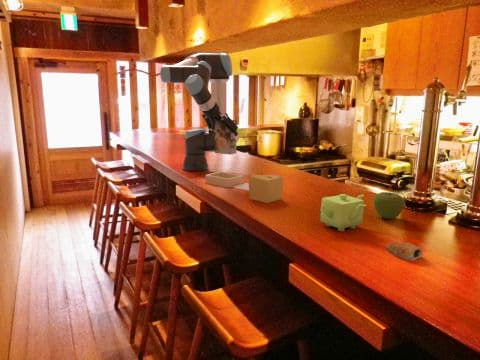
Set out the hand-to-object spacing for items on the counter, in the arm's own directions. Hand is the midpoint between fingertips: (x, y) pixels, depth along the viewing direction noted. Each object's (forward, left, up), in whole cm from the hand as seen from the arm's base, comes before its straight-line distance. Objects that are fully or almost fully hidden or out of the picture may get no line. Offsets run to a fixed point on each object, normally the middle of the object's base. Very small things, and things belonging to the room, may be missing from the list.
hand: (229, 138), depth 187 cm
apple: (+6, +79, -22) cm, 83 cm away
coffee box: (+3, 0, -7) cm, 8 cm away
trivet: (+2, +14, -22) cm, 26 cm away
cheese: (+14, +31, -22) cm, 41 cm away
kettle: (+26, +70, -22) cm, 78 cm away
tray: (+3, -1, -22) cm, 22 cm away
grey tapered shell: (+38, +93, -22) cm, 103 cm away
